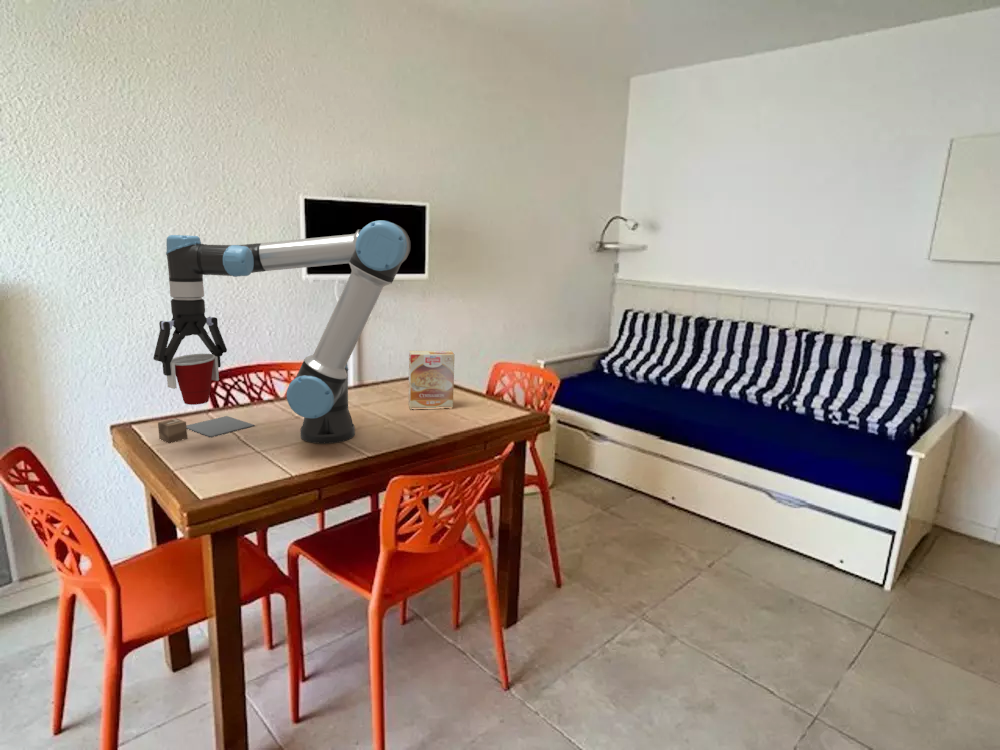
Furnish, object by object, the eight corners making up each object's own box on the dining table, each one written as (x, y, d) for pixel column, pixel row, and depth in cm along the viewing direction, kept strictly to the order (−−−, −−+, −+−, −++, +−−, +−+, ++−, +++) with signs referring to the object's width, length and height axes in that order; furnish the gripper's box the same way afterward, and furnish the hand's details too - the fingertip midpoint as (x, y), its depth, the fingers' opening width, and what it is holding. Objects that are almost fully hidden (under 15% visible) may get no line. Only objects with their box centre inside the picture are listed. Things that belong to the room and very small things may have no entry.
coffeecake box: (409, 410, 200) (410, 354, 195) (408, 404, 206) (408, 350, 202) (453, 409, 203) (455, 353, 199) (450, 403, 210) (451, 350, 206)
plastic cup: (166, 400, 153) (162, 355, 151) (209, 394, 161) (206, 351, 158) (179, 410, 146) (175, 363, 143) (224, 403, 153) (221, 358, 151)
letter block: (187, 438, 163) (185, 421, 162) (169, 443, 159) (167, 425, 158) (177, 435, 166) (176, 417, 165) (159, 439, 162) (157, 421, 161)
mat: (254, 426, 176) (254, 424, 176) (210, 437, 165) (210, 436, 165) (226, 417, 184) (226, 415, 184) (182, 427, 172) (182, 426, 172)
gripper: (221, 294, 159) (226, 374, 164) (131, 299, 140) (139, 389, 145) (238, 296, 155) (243, 378, 160) (147, 302, 136) (156, 394, 141)
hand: (194, 383), depth 152 cm, fingers closed on plastic cup, 11 cm apart
